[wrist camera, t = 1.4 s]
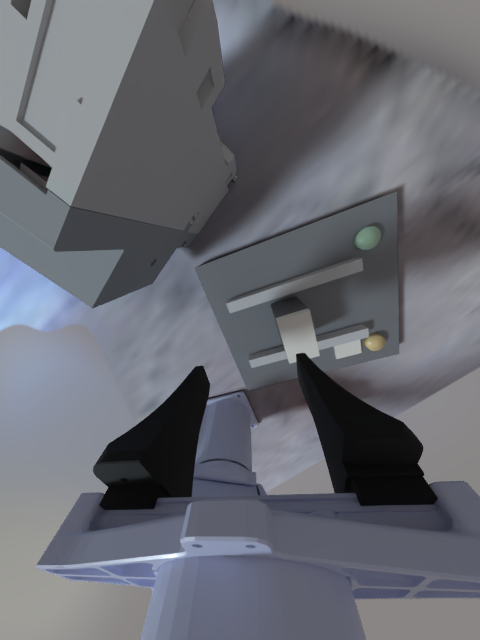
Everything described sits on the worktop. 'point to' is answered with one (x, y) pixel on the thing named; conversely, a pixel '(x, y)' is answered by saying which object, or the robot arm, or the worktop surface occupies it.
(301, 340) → the breaker handle
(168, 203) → the circuit breaker
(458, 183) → the worktop surface
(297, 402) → the worktop surface
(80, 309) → the worktop surface
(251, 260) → the breaker panel
